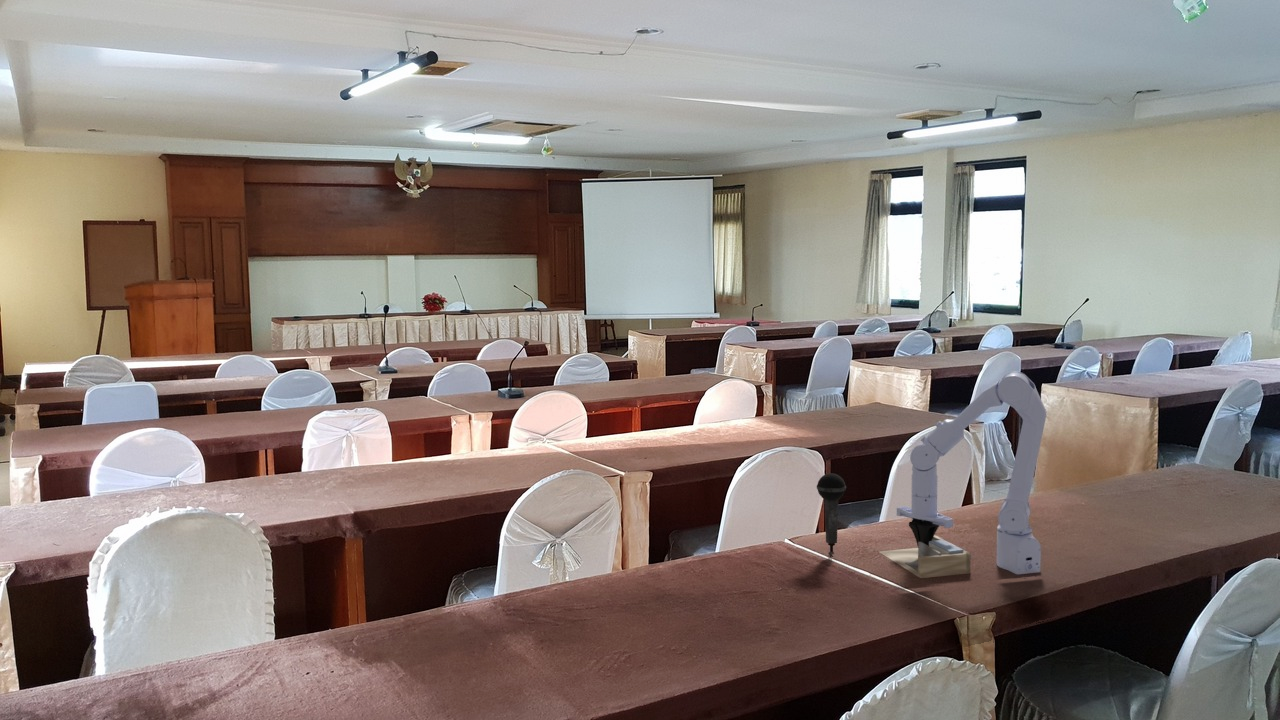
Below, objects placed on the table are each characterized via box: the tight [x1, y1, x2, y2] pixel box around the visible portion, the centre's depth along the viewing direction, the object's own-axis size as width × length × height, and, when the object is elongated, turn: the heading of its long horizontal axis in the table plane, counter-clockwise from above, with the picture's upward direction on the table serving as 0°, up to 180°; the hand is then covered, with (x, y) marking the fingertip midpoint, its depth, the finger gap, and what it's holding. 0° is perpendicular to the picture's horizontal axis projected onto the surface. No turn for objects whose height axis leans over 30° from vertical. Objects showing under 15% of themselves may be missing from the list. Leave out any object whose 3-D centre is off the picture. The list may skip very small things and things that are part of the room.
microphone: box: [816, 472, 847, 557], centre depth 223 cm, size 7×7×20 cm
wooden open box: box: [878, 534, 972, 579], centre depth 216 cm, size 20×12×6 cm, turn 12°
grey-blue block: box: [929, 539, 964, 555], centre depth 212 cm, size 8×4×5 cm, turn 16°
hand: (923, 551), depth 220 cm, fingers closed
